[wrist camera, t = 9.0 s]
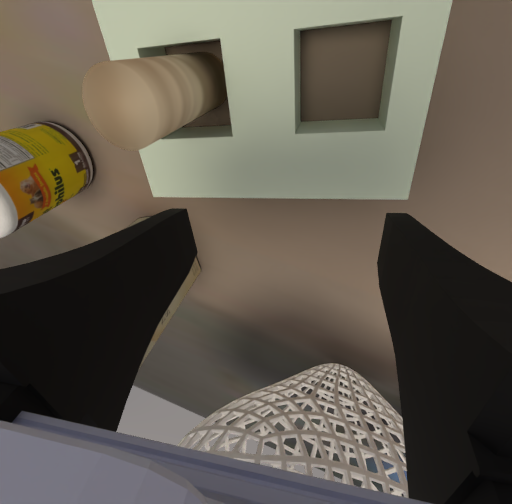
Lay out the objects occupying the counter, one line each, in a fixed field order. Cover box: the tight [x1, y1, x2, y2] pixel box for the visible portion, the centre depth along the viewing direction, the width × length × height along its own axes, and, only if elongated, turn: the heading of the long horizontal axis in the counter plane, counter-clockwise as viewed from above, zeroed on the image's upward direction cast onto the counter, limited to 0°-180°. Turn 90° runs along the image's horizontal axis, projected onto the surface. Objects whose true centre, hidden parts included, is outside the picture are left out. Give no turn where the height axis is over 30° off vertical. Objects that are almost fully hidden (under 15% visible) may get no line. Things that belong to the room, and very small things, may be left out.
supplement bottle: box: [0, 122, 93, 238], centre depth 19 cm, size 6×6×10 cm
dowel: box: [82, 52, 227, 151], centre depth 14 cm, size 3×3×9 cm
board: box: [92, 0, 453, 200], centre depth 16 cm, size 16×12×3 cm
